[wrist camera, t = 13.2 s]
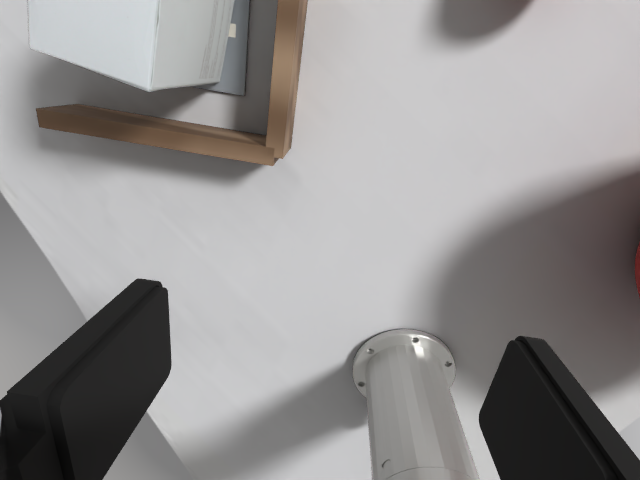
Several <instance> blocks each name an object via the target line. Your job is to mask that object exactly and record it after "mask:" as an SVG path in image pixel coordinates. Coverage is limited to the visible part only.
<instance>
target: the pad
mask: <svg viewBox="0 0 640 480" xmlns="http://www.w3.org/2000/svg"><path fill="white" fill-rule="evenodd" d="M249 11H250V0H235V1H234V7H233V12H232V18H231V23H230V29H229V35H228V40H227V46H226V52H225V57H224V63H223V68H222V73H221V78H220V82H218V83H210V84H204V85H196V86H189V87H195V88H201V89H207V90H213V91H219V92H225V93H231V94H237V95H243V96H245V83H246V65H247V47H248V29H249Z"/></svg>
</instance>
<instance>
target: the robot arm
mask: <svg viewBox="0 0 640 480" xmlns="http://www.w3.org/2000/svg"><path fill="white" fill-rule="evenodd" d="M170 370H171V345H170V325H169V305H168V291H167V289H166V288H163V287H162V284H161V282H159V281H153V280H146V279H136V280H135V281H134V282H132V283H131V284H130V285H129V286H128V287H127V288H125V289H124V290H123V291H122V292H121V293H120V294H119V295H117V296H116V297H115V298H114V299H113V300H112V301H111V302H109V303H108V304H107V305H106V306H105V307H104V308H103V309H101V310H100V311H99V312H98V313H97V314H96V315H94V316H93V317H92V318H91V319H90V320H89V321H88V322H86V323H85V324H84V325H83V326H82V327H81V328H80V329H78V330H77V331H76V332H75V333H74V334H73V335H72V336H70V337H69V338H68V339H67V340H66V341H65V342H63V344H61V345H60V346H59V347H58V348H57V349H56V350H54V351H53V352H52V353H51V354H50V355H49V356H47V357H46V358H45V359H44V360H43V361H42V362H41V363H39V364H38V365H37V366H36V367H35V368H34V369H33V370H31V371H30V372H29V373H28V374H27V375H26V376H25V377H23V378H22V379H21V380H20V381H19V382H18V383H16V384H15V385H14V386H13V387H12V388H11V389H10V390H8V391H7V395H6V396H5V397H4V398H2V399H1V400H0V480H102V479H103V478H104V476H105V475H106V473H107V471H108V470H109V468H110V467H111V465H112V464H113V462H114V460H115V459H116V457H117V456H118V454H119V453H120V451H121V450H122V448H123V447H124V445H125V443H126V442H127V440H128V439H129V437H130V435H131V434H132V432H133V431H134V429H135V428H136V426H137V425H138V423H139V422H140V420H141V418H142V417H143V415H144V414H145V412H146V411H147V409H148V407H149V406H150V404H151V403H152V401H153V400H154V398H155V397H156V395H157V393H158V392H159V390H160V389H161V387H162V386H163V384H164V382H165V381H166V379H167V378H168V376H169V373H170ZM455 374H456V367H455V362H454V359H453V357H452V354H451V352H450V350H449V349H448V348H447V346H446V345H445V344H444V343H443V342H442V341H441V340H439V339H438V338H436V337H434V336H433V335H431V334H428V333H425V332H423V331H418V330H411V329H399V330H392V331H388V332H384V333H381V334H379V335H377V336H374V337H373V338H371V339H370V340H368V341H367V342H366V343H365V344H364V345H363V346H362V347H361V348H360V349H359V351H358V352H357V353H356V356H355V358H354V361H353V379H354V383H355V385H356V387H357V389H358V390H359V391H360V393H361V394H362V395H363V396H364V397H365V398H367V411H368V426H369V441H370V456H371V471H372V480H480V479H479V475H478V472H477V469H476V466H475V463H474V460H473V457H472V454H471V451H470V448H469V445H468V442H467V439H466V436H465V433H464V430H463V427H462V424H461V421H460V418H459V416H458V413H457V410H456V407H455V404H454V401H453V398H452V395H451V392H450V387H451V385H452V384H453V382H454V378H455ZM479 424H480V428H481V430H482V433H483V436H484V438H485V441H486V443H487V446H488V448H489V451H490V454H491V456H492V459H493V461H494V464H495V466H496V469H497V471H498V474H499V477H500V479H501V480H640V460H639V459H638V458H637V456H636V455H635V454H634V452H633V451H632V450H631V449H630V448H629V446H628V445H627V444H626V442H625V441H624V440H623V439H622V437H621V436H620V435H619V433H618V432H617V431H616V430H615V428H614V427H613V426H612V425H611V423H610V422H609V421H608V420H607V418H606V417H605V416H604V414H603V413H602V412H601V411H600V409H599V408H598V407H597V406H596V404H595V403H594V402H593V401H592V399H591V398H590V397H589V395H588V394H587V393H586V392H585V390H584V389H583V388H582V387H581V385H580V384H579V383H578V382H577V380H576V379H575V378H574V377H573V375H572V374H571V373H570V371H569V370H568V369H567V368H566V366H565V365H564V364H563V363H562V361H561V360H560V359H559V358H558V356H557V355H556V354H555V352H554V351H553V350H552V349H551V347H550V346H549V345H548V344H547V342H546V341H544V340H542V339H538V338H531V337H525V336H518V337H517V338H516V339H515V340H512V341H510V342H509V343H508V345H507V347H506V350H505V352H504V355H503V357H502V360H501V362H500V364H499V367H498V369H497V372H496V374H495V376H494V379H493V381H492V384H491V386H490V389H489V391H488V393H487V396H486V398H485V401H484V403H483V405H482V408H481V410H480V413H479Z"/></svg>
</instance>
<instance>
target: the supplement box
mask: <svg viewBox="0 0 640 480" xmlns="http://www.w3.org/2000/svg"><path fill="white" fill-rule="evenodd" d="M234 1H235V0H27V5H28V32H29V48H30V49H32V50H35V51H38V52H41V53H44V54H47V55H50V56H53V57H55V58H58V59H61V60H64V61H66V62H69V63H72V64H74V65H77V66H80V67H82V68H85V69H88V70H90V71H93V72H96V73H98V74H101V75H104V76H107V77H109V78H112V79H115V80H117V81H120V82H123V83H125V84H128V85H131V86H133V87H136V88H139V89H141V90H144V91H147V92H152V91H157V90H162V89H170V88H179V87H188V86H196V85H204V84H210V83H218V82H220V78H221V73H222V68H223V63H224V57H225V52H226V46H227V40H228V35H229V29H230V23H231V18H232V12H233V7H234Z"/></svg>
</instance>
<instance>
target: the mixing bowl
mask: <svg viewBox="0 0 640 480" xmlns="http://www.w3.org/2000/svg"><path fill="white" fill-rule="evenodd" d="M635 279H636V285H637V290H638V293H639V297H640V242H639V245H638V249H637V252H636V258H635Z"/></svg>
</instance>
